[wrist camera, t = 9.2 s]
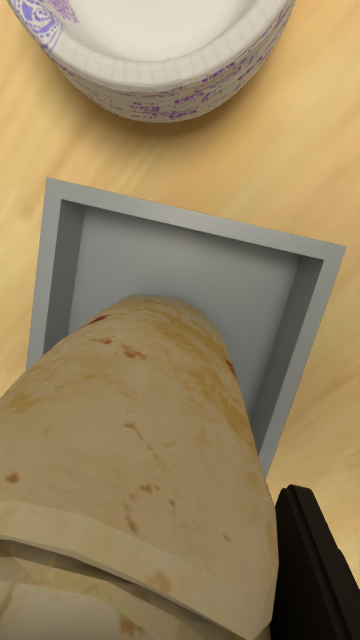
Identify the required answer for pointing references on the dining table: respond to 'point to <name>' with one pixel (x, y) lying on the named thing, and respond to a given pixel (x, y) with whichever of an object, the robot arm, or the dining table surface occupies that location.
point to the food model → (134, 487)
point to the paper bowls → (156, 50)
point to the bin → (187, 285)
